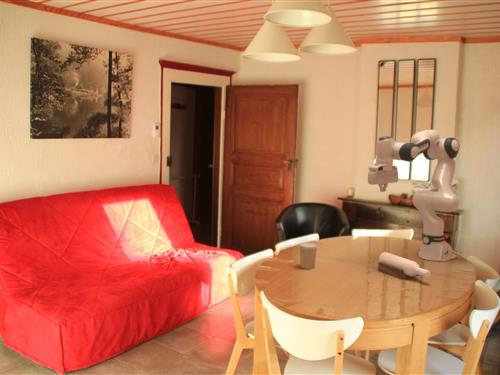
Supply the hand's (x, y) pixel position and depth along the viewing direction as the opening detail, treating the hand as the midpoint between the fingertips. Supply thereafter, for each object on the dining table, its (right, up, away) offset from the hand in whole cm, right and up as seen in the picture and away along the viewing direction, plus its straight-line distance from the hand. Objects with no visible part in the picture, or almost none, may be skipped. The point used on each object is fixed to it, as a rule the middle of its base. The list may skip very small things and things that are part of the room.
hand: (382, 191), depth 279 cm
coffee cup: (-42, -41, -4) cm, 59 cm away
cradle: (+5, -43, -12) cm, 45 cm away
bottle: (-1, -36, -5) cm, 37 cm away
